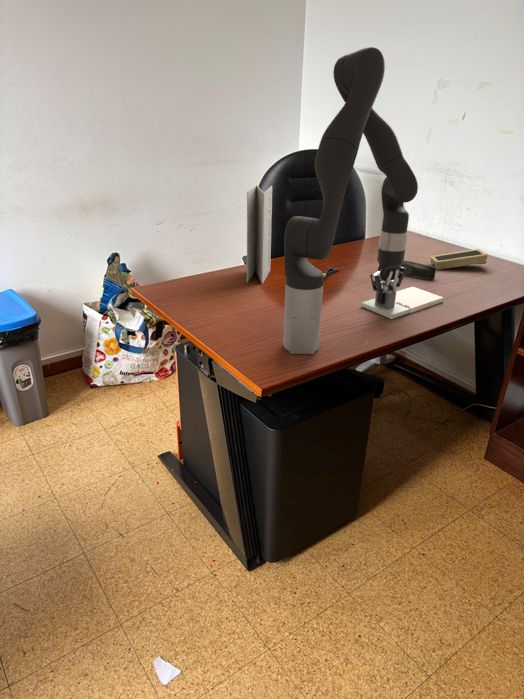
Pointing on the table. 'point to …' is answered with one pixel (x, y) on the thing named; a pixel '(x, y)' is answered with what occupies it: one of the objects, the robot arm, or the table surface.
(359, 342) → the table surface
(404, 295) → the cream panel
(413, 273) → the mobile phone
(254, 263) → the brochure
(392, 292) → the stub
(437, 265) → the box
